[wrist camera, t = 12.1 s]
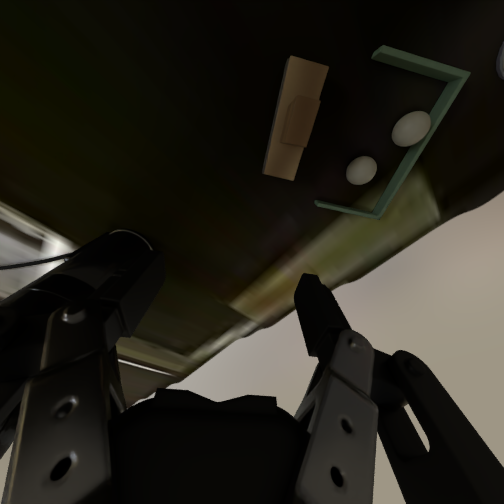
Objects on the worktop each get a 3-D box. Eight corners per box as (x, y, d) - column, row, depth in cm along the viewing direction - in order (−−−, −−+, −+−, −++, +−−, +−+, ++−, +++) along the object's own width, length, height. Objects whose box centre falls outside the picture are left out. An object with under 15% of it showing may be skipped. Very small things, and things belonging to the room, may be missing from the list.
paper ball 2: (379, 142, 27) (400, 142, 23) (396, 109, 25) (421, 104, 21) (401, 149, 27) (425, 150, 24) (419, 117, 25) (447, 113, 22)
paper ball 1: (364, 186, 30) (340, 179, 30) (378, 159, 28) (351, 153, 28) (370, 189, 26) (343, 182, 27) (386, 159, 24) (356, 152, 25)
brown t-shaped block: (261, 171, 29) (263, 182, 21) (285, 64, 23) (300, 20, 15) (290, 178, 30) (302, 191, 22) (322, 74, 23) (356, 37, 15)
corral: (313, 202, 32) (317, 206, 30) (373, 52, 22) (383, 44, 20) (373, 216, 33) (379, 220, 31) (455, 77, 23) (471, 72, 21)
